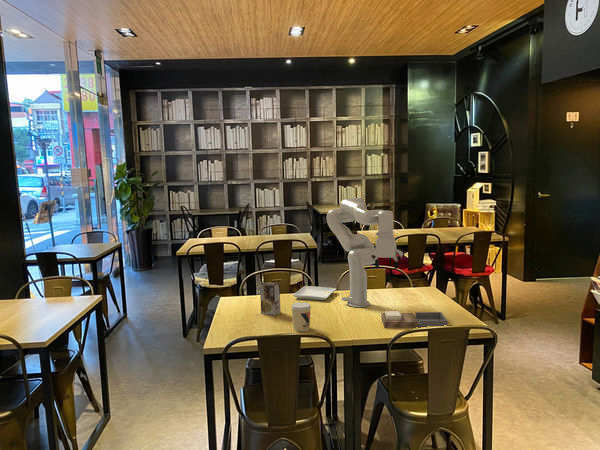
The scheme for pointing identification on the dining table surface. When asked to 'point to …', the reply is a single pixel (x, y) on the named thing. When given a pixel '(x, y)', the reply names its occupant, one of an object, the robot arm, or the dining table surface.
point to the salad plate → (314, 293)
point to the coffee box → (270, 298)
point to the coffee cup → (301, 316)
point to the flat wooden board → (400, 321)
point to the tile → (393, 315)
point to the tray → (430, 319)
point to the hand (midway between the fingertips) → (386, 268)
